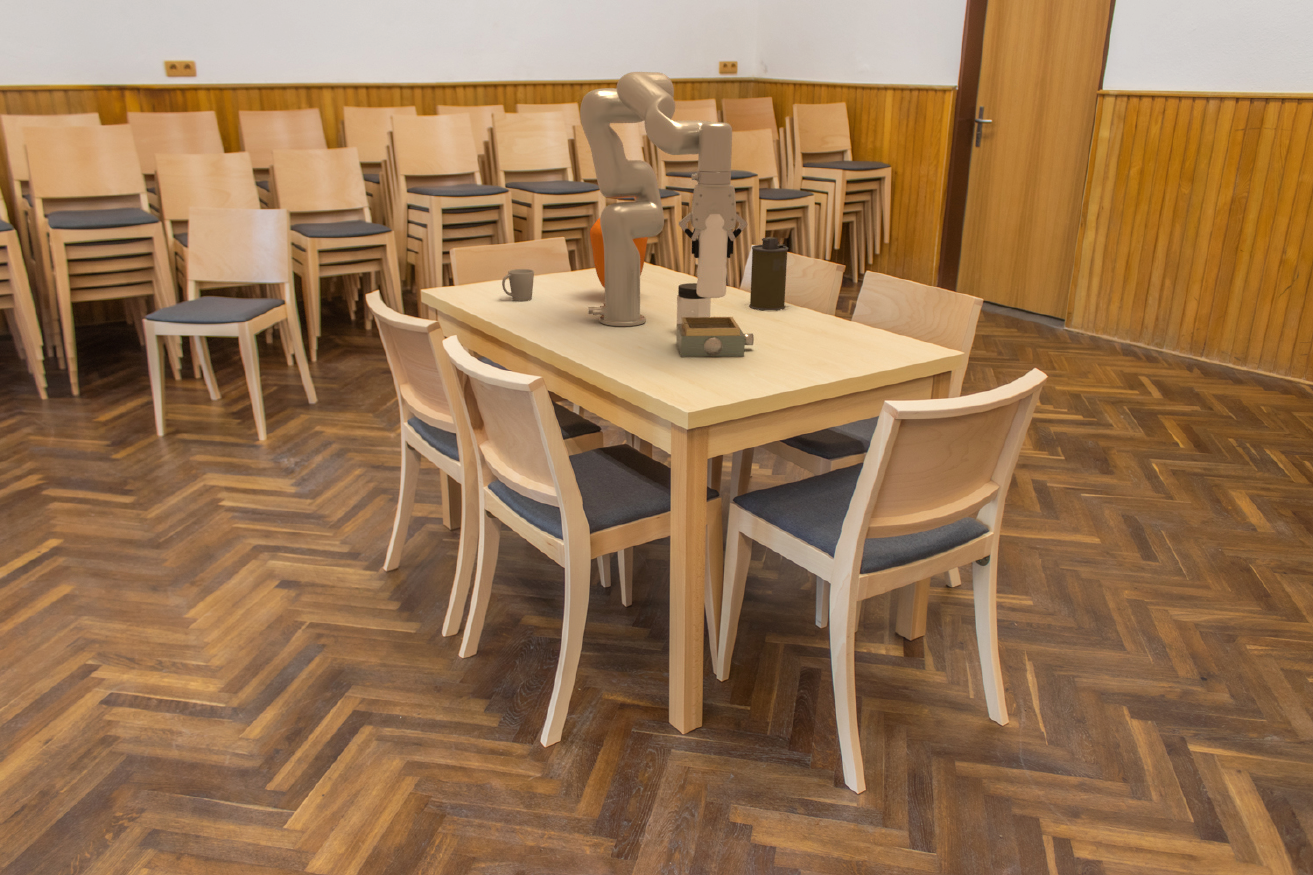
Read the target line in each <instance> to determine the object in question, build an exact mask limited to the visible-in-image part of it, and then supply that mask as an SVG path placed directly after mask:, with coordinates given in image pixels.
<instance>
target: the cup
mask: <svg viewBox="0 0 1313 875" xmlns="http://www.w3.org/2000/svg"><path fill="white" fill-rule="evenodd" d="M534 275H535V271H534V270H533V269H527V268H517V269H509V270H508V272H507V274H506V275H504V277H503V278H502V283H501V284H502V286H501V287H502V289H503V292H504V293H505V294H506V295H507V296H510V297H511V298H512V300H513V301H514V300H515V302H529V301H531V300H532V299H533V290H534V289H533V287H534V278H535V276H534ZM507 279H508V280H509V287H510V288H509V289H510V291H508V290H507V289H506V284H505V283H506V280H507ZM528 300H529V301H528Z"/></svg>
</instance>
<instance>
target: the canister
mask: <svg viewBox="0 0 1313 875" xmlns="http://www.w3.org/2000/svg"><path fill="white" fill-rule="evenodd" d="M761 241H762V244H755V245H753V246H751V252H752V253H751V273H750V274H751V275H750V276H751V278H750V302H749V303H750V304H749V308H751V309H752V310H755V309H759V310H758V311H763V310H776V311H780V310H779V309H782V310H784V309H785V308H786V305H785V304H786V302H785V300H786V284H787V264H788V250H789V247H787V245H786V244H782V243H780V242H779V238H778V237H773V236H768V237H763V238H761Z"/></svg>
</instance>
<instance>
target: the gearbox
mask: <svg viewBox="0 0 1313 875" xmlns="http://www.w3.org/2000/svg"><path fill="white" fill-rule="evenodd" d="M675 334H676V337H675V338H676V342H675V344H676V347H677V350H678V353H679V355H680V357H681V358H697V357H698V358H701V357H702V358H707V357H709V358H710V357H711V358H715V357H717V358H718V357H719V358H721V357H722V358H723V357H729V358H730V357H732V358H733V357H734V358H735V357H745V346H754V337H755V336H754V333H744V332H743V330H742V329H741V327H740V326H739V325H738V323H737V321H736V320H735V319H734V317H733V316H710V317H682V324H677V323H676V333H675Z"/></svg>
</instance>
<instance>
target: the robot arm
mask: <svg viewBox="0 0 1313 875" xmlns="http://www.w3.org/2000/svg"><path fill="white" fill-rule="evenodd" d="M674 93H675V88H674V85H673V82H672V80H671V79H670V78H669V76H668V75H666V74H664V73H663V72H656V71H655V72H651V71H631V72H628V73H626V74H624V75H623V76H621V77H620V79H619V80H617V84H616V88H613V87H609V88H608V87H607V88H605V87H604V88H597V89H592V90H591V91H588V92H587V93H586V94H585V95H584V96H583V98H582V101H581V104H580V110H579V115H580V116H579V117H580V118H579V119H580V123H581V126H582V127H581V128H582V130H583V132H584V135H585V137H586V140H587V142H588V144H589V145H588V146H589V149H590V151H591V152H590V153H591V157H592V163H593V167H594V172H595V176H596V180H597V184H598V189H599V192H600V193H601V195H602V196H603V197H605V198H607V199H628V198H633V200H634V201H619V202H614V203H611V204H609V205H606V206H605V207H604V208H602V211H601V212H600V216H599V218H600V225H601V230H602V235H603V242H604V264H605V288H604V303H603V305H599V306H587V307H588V310H587V311H588V314H589V315H593V316H598V315H599V321H598V322H600V323H601V324H602V325H606V326H611V327H633V326H638V325H642V324H644V323H646V320H647V318H646V316H645V315H643V314H641V276H640V254H639V251H638V249H637V247H636V246H635V244H634V242H633V239H635V238H644V237H648V238H651V237H652V238H653V237H656V236H658V235H659V234H660V233H661V232H662V231H663V228H664V226H665V215H664V209H663V204H662V200H661V199H662V197H661V194H660V188H659V184H658V179H657V176H656V172H655V171H654V169H653V167H652V165H651V164H650V163H648V162H647V161H645V160H638V159H634V160H631V159H630V160H628V159H627V157H626V156H627V155H626V153H625V149H624V145H623V141H622V139H621V138H620V136H619V134H618V133H617V132H616V130H614V129H613V128H612V126H611V125H610V124H637V123H642V122H644V129H645V130H644V131H645V133H646V136H647V138H648V140H649V141H650V142H651V143H652V144H653V145H654V146H656V147H657V148H658V149H659V150H660V151H662V152H664V153H665V154H668V155H671V156H683V155H685V156H686V155H698V156H697V157H698V160H697V161H698V162H697V172H695V173H691V180H692V181H696V182H697V184H695V185H694V189H693V193H692V201H691V211H690V212H689V213H688V214H686V215H685V216H684V217H683V218H682V219H681V220H680V221H678V226H679V227H680V228H681V229H682V231H683V232H684V233H685V235H687V236H688V237H689V239H690V240H691V250H690V251H691V252H690V253H691V255H693V257H694V259H698V251H699V241H698V235H699V233H700V230H706V229H707V227H706V225H705V221H706V219H707V218H708V217H709V215H710V214H720V215H721V217H722V218H723V219H724V226H723V227H722V229H724V230H727V234H728V245H727V259H731V255H733V254H734V241H735V240H736V239H737V237H739V235H740V234H742V232H743V231H744V229H745V228H746V227H748V222H747V221H746V220H745V219H744V218H743V217H741V216H740V215H739V214H738V212H737V205H736V204H737V203H736V201H737V200H736V191H735V186H734V185H733V184H731V180H732V178H731V174H732V155H733V154H732V152H733V151H732V150H733V149H732V148H733V127H732V126H731V124H730V123H727V122H716V121H715V122H711V121H708V120H691V119H690V120H673V117H674V114H675V112H676V102H675V100H674V95H675V94H674ZM689 222H690V224H691V226H692V227H693V230H690V228H688V226H687V224H688V223H689ZM737 222H738V224H739V225H738V226H737V228H735V227H736V224H737Z"/></svg>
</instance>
